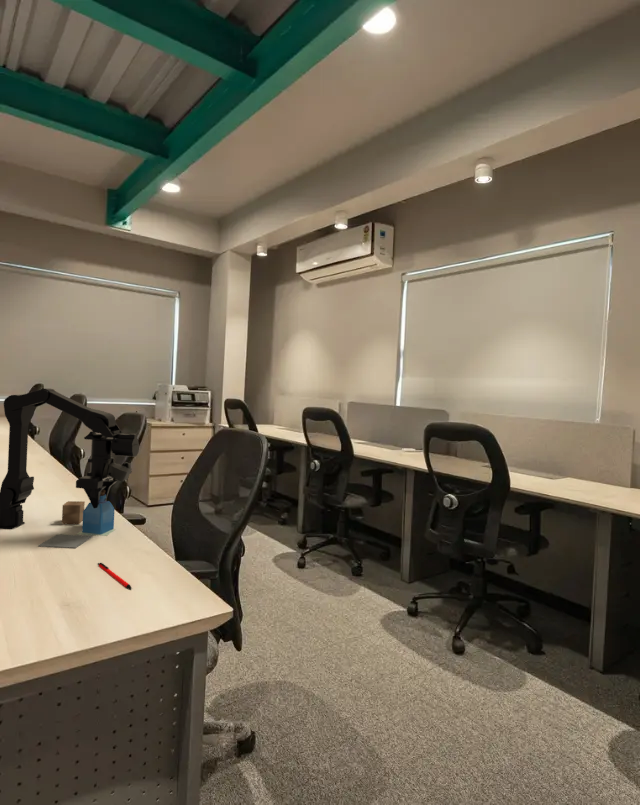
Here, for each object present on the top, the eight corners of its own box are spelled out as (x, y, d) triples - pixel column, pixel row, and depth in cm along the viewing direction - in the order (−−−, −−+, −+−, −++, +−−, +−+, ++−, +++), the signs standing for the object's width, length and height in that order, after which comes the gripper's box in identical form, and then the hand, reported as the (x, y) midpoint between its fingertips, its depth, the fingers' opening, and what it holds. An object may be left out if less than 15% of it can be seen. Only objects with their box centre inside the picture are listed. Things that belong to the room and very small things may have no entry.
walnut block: (61, 524, 151) (62, 505, 151) (67, 519, 156) (67, 501, 156) (79, 524, 152) (80, 505, 152) (83, 519, 157) (84, 501, 157)
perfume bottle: (100, 534, 144) (102, 494, 143) (82, 532, 145) (83, 492, 144) (113, 528, 150) (115, 490, 149) (95, 526, 151) (97, 488, 151)
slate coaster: (38, 546, 131) (38, 545, 131) (57, 535, 141) (57, 534, 141) (75, 548, 131) (75, 547, 131) (92, 537, 141) (92, 535, 141)
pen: (100, 565, 122) (100, 560, 122) (133, 590, 108) (133, 585, 108) (96, 565, 121) (96, 561, 121) (129, 591, 108) (129, 586, 108)
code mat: (75, 534, 143) (75, 534, 143) (90, 526, 152) (90, 525, 152) (106, 536, 143) (106, 535, 143) (119, 527, 152) (119, 527, 152)
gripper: (115, 461, 137) (113, 515, 138) (139, 452, 156) (137, 500, 156) (76, 458, 137) (73, 513, 138) (104, 450, 156) (102, 498, 156)
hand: (99, 506), depth 147 cm, fingers closed on perfume bottle, 4 cm apart
